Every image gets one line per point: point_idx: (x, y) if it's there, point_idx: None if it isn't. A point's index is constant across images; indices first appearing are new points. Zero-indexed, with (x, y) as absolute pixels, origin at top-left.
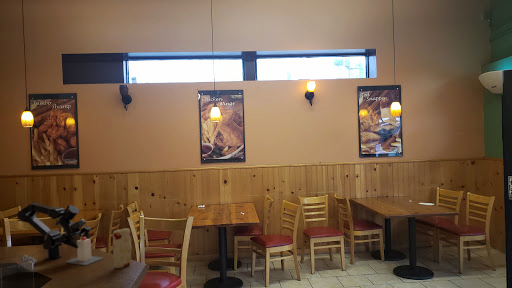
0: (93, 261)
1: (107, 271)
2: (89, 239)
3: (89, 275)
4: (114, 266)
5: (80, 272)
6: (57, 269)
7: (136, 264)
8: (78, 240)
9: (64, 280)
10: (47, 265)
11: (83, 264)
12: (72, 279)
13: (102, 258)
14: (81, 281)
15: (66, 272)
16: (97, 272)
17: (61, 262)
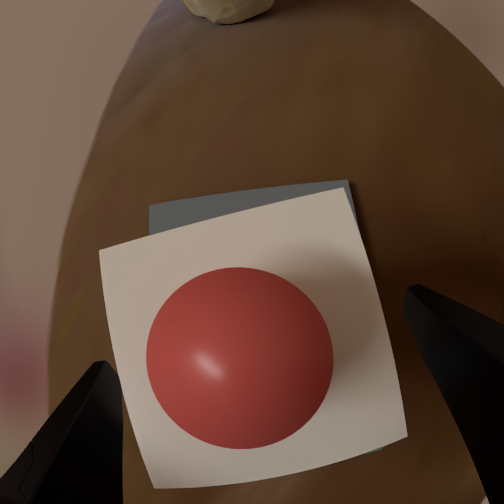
0: (261, 192)
1: (313, 16)
2: (135, 240)
3: (398, 43)
4: (272, 3)
5: (421, 107)
6: (494, 316)
7: (179, 3)
8: (350, 453)
9: (496, 99)
10: (466, 479)
11: (353, 207)
12: (468, 76)
13: (165, 202)
14: (441, 35)
15: (479, 188)
16: (354, 38)
17: (390, 477)
